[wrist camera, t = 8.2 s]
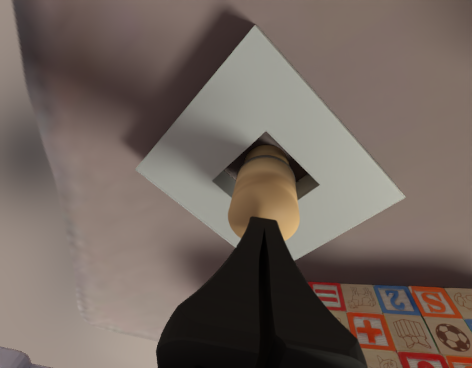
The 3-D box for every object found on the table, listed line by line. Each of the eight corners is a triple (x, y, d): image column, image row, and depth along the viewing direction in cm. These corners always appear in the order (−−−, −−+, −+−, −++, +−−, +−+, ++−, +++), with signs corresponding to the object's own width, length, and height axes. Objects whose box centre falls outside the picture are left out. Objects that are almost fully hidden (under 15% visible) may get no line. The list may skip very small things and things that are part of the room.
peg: (304, 159, 19) (316, 213, 13) (272, 196, 21) (271, 256, 15) (259, 130, 18) (252, 175, 13) (231, 171, 20) (214, 224, 15)
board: (391, 179, 19) (405, 197, 17) (270, 254, 24) (270, 274, 22) (257, 25, 15) (254, 25, 13) (148, 155, 20) (134, 169, 18)
